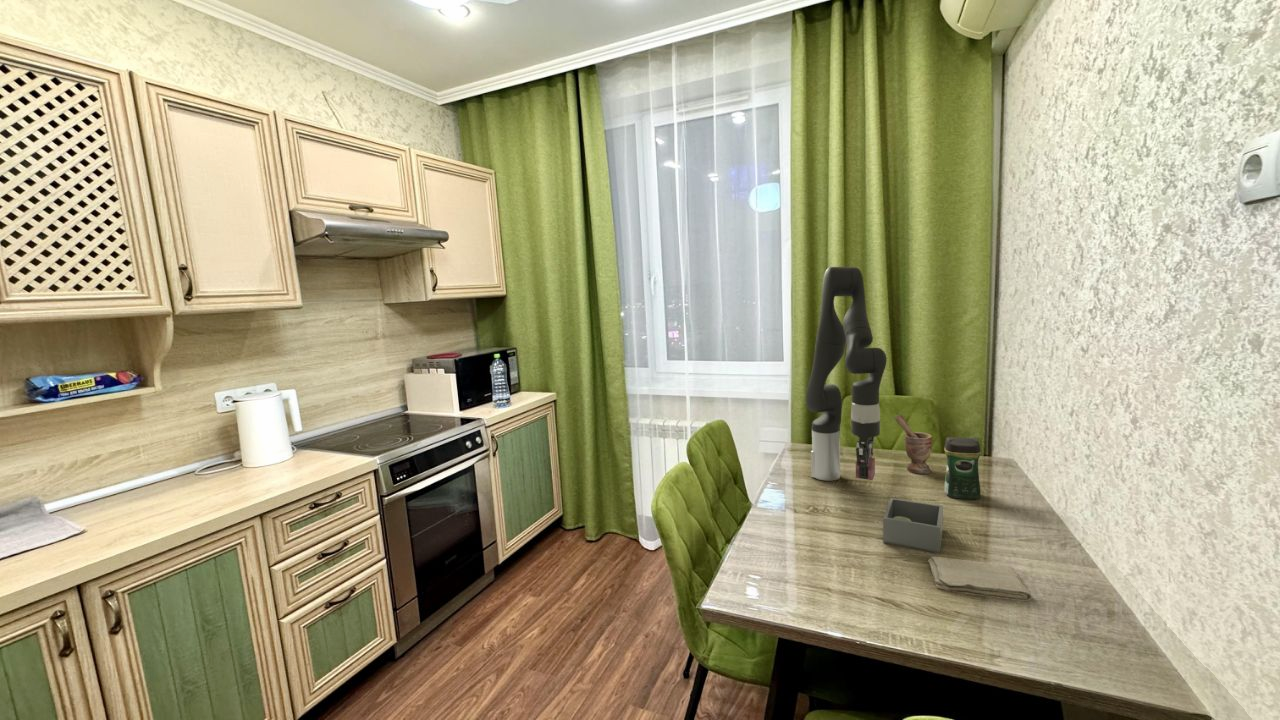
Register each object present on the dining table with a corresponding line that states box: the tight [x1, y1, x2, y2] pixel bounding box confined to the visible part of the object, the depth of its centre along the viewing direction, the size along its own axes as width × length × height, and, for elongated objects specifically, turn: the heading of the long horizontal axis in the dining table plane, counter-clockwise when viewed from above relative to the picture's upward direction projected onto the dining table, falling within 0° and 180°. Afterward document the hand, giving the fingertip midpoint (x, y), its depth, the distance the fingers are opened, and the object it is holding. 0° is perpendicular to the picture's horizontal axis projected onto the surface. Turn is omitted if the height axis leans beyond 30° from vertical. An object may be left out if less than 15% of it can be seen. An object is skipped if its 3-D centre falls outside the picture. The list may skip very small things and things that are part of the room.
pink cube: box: [855, 457, 876, 481], centre depth 146 cm, size 4×4×5 cm
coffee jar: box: [943, 436, 982, 500], centre depth 158 cm, size 10×8×19 cm
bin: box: [882, 497, 944, 555], centre depth 137 cm, size 13×14×7 cm
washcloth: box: [927, 556, 1033, 602], centre depth 116 cm, size 12×18×3 cm, turn 70°
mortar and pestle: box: [894, 414, 933, 475], centre depth 181 cm, size 12×9×20 cm
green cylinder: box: [893, 516, 911, 521], centre depth 136 cm, size 4×4×5 cm
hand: (865, 474), depth 147 cm, fingers closed on pink cube, 4 cm apart
